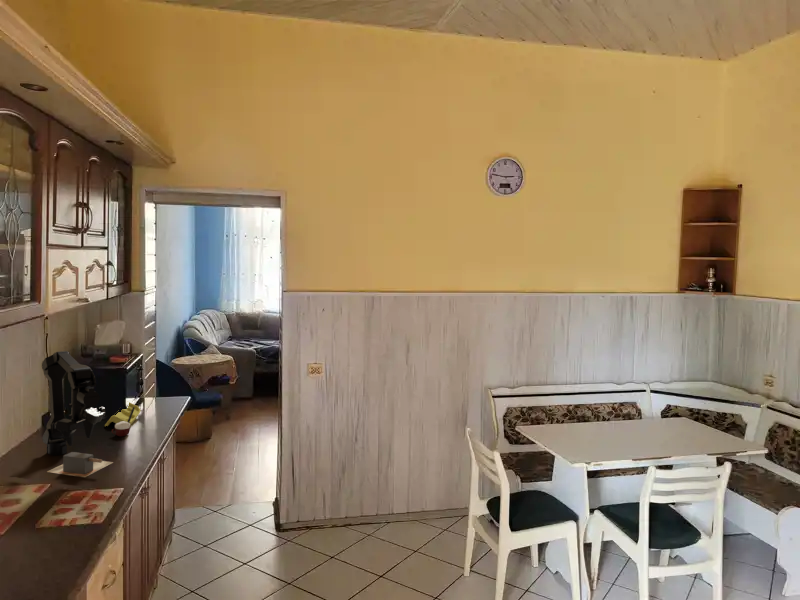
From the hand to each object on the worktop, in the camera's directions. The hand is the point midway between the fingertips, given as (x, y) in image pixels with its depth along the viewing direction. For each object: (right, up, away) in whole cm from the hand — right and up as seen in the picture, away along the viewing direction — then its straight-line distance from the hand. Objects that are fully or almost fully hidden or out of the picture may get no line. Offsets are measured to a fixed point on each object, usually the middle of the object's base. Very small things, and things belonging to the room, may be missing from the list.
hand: (79, 441), depth 229 cm
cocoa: (-5, -8, +46) cm, 47 cm away
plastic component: (-13, -6, +66) cm, 67 cm away
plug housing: (+3, -10, -2) cm, 11 cm away
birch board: (-1, -12, +3) cm, 12 cm away
